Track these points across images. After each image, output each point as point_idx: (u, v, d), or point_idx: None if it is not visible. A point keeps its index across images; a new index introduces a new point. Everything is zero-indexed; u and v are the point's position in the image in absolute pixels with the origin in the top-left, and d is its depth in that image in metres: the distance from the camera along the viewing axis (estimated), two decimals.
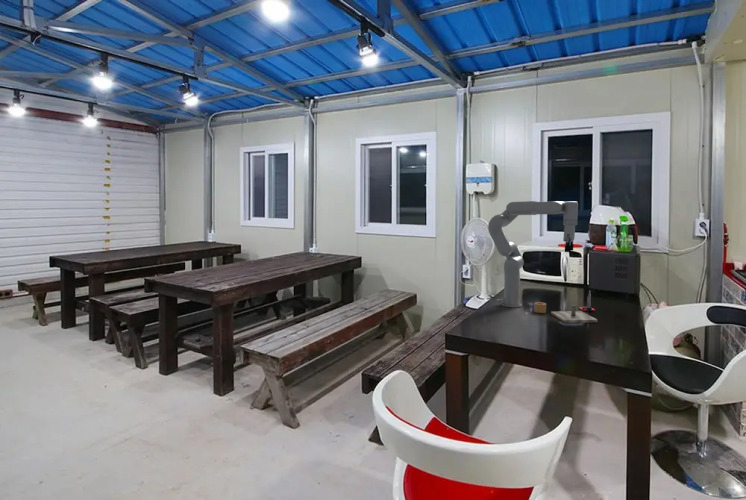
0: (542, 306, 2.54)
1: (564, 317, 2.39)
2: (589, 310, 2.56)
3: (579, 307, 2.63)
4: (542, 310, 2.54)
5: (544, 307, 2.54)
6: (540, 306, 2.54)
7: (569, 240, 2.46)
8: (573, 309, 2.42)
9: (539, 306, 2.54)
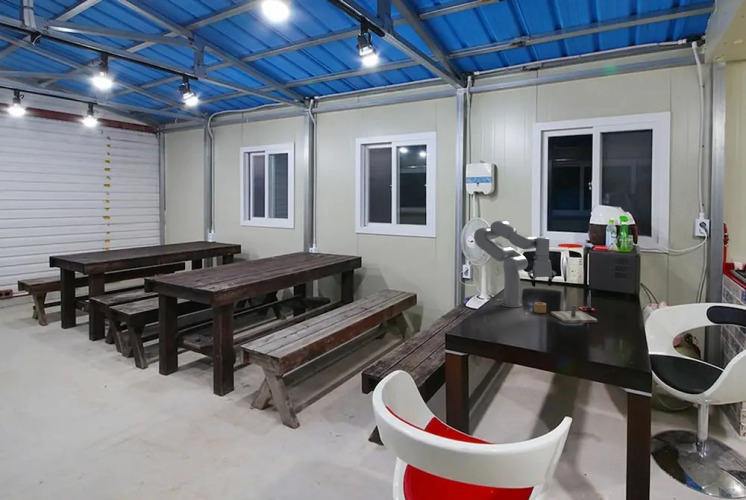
0: (542, 306, 2.54)
1: (564, 317, 2.39)
2: (589, 310, 2.56)
3: (579, 307, 2.63)
4: (542, 310, 2.54)
5: (544, 307, 2.54)
6: (540, 306, 2.54)
7: None
8: (573, 309, 2.42)
9: (539, 306, 2.54)
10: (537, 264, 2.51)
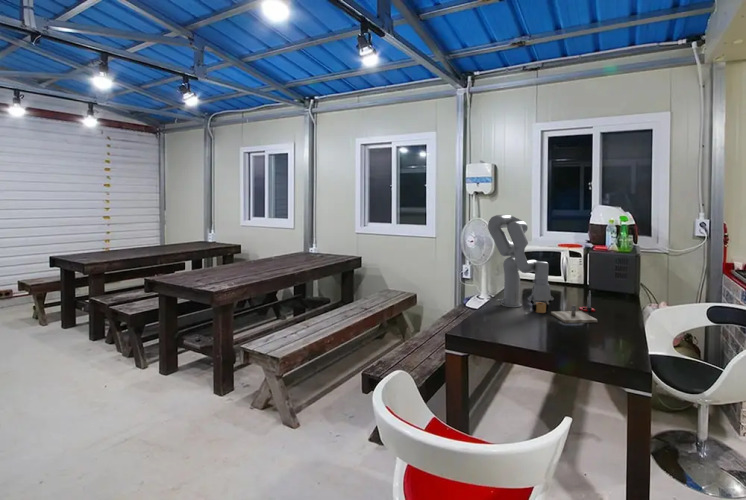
0: (542, 306, 2.54)
1: (564, 317, 2.39)
2: (589, 310, 2.56)
3: (579, 307, 2.63)
4: (542, 310, 2.54)
5: (544, 307, 2.54)
6: (540, 306, 2.54)
7: None
8: (573, 309, 2.42)
9: (539, 306, 2.54)
10: (536, 288, 2.53)
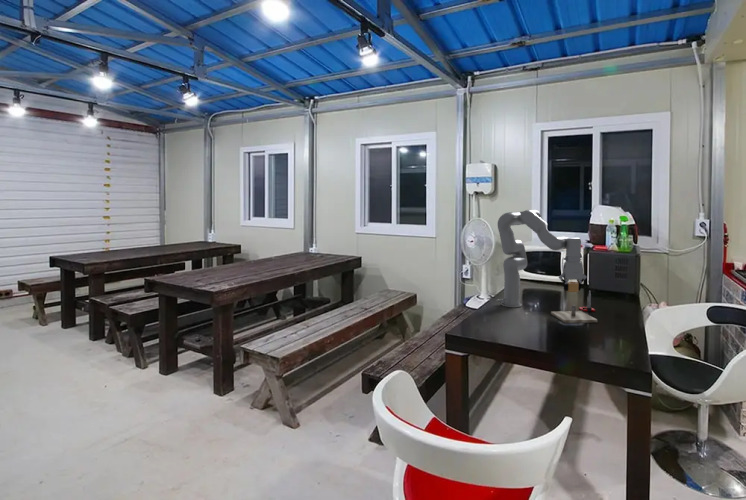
0: (575, 285, 2.38)
1: (564, 317, 2.39)
2: (589, 310, 2.56)
3: (579, 307, 2.63)
4: (575, 289, 2.39)
5: (577, 286, 2.39)
6: (572, 285, 2.39)
7: None
8: (573, 309, 2.42)
9: (571, 285, 2.39)
10: (568, 266, 2.38)
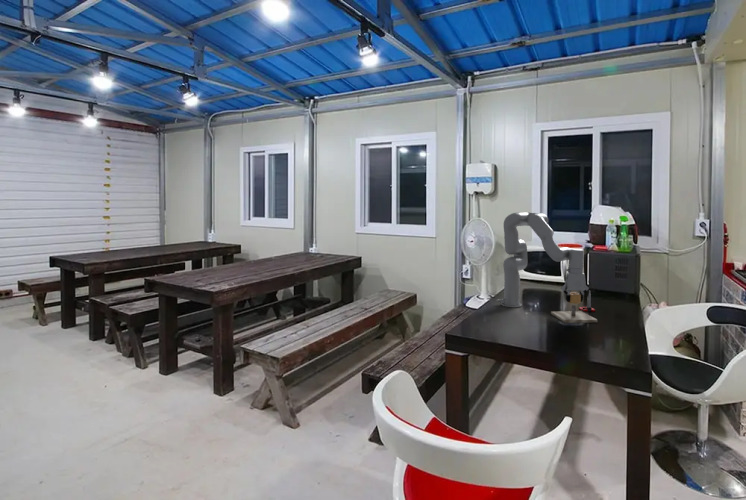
0: (577, 296, 2.38)
1: (564, 317, 2.39)
2: (589, 310, 2.56)
3: (579, 307, 2.63)
4: (577, 301, 2.38)
5: (579, 297, 2.39)
6: (575, 296, 2.38)
7: None
8: (573, 309, 2.42)
9: (574, 296, 2.39)
10: (570, 277, 2.38)
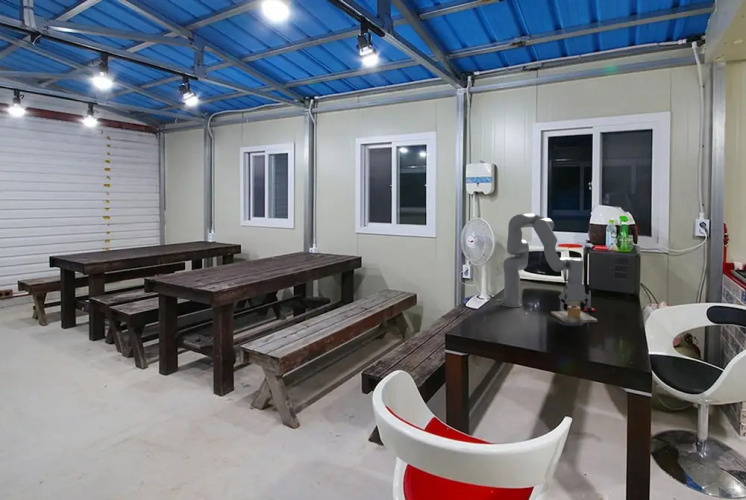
0: (576, 310, 2.39)
1: (564, 317, 2.39)
2: (589, 310, 2.56)
3: None
4: (576, 314, 2.39)
5: (578, 311, 2.40)
6: (574, 310, 2.39)
7: None
8: None
9: (573, 310, 2.40)
10: (570, 287, 2.38)
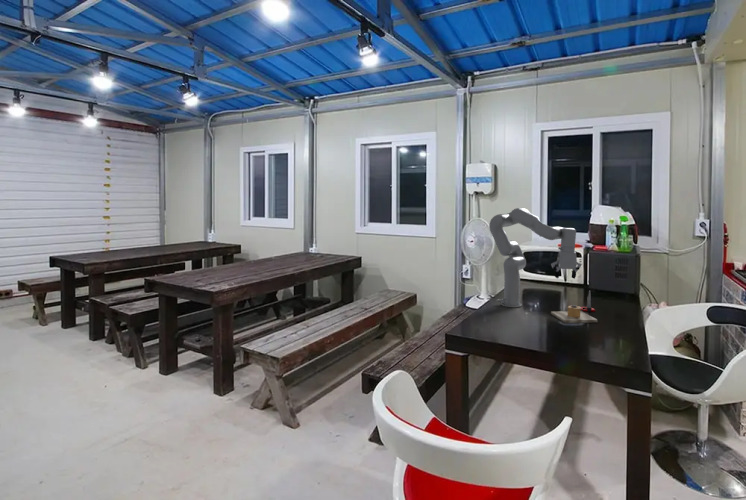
0: (576, 310, 2.39)
1: (564, 317, 2.39)
2: (589, 310, 2.56)
3: None
4: (576, 314, 2.39)
5: (578, 311, 2.40)
6: (574, 310, 2.39)
7: None
8: None
9: (573, 310, 2.40)
10: (562, 255, 2.44)
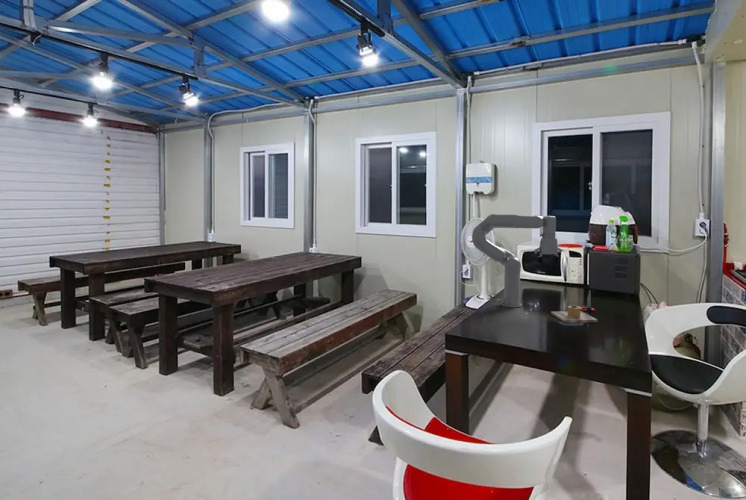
0: (576, 310, 2.39)
1: (564, 317, 2.39)
2: (589, 310, 2.56)
3: None
4: (576, 314, 2.39)
5: (578, 311, 2.40)
6: (574, 310, 2.39)
7: None
8: None
9: (573, 310, 2.40)
10: (544, 241, 2.60)
